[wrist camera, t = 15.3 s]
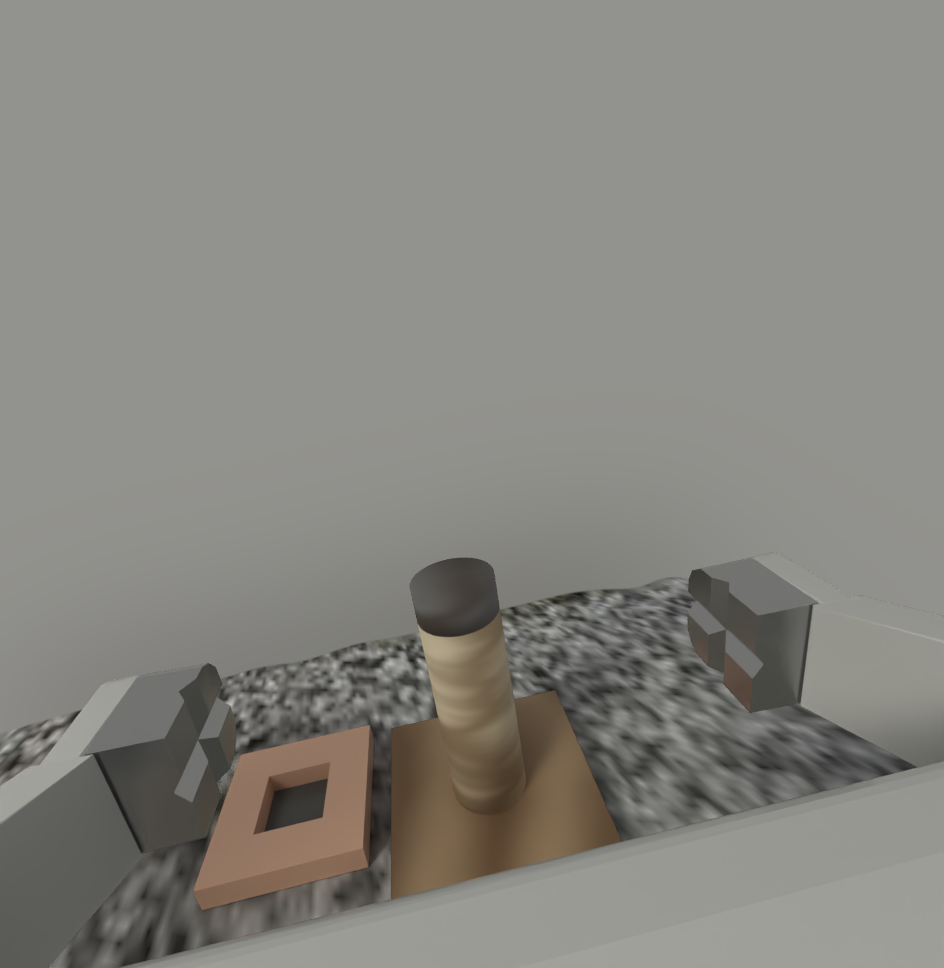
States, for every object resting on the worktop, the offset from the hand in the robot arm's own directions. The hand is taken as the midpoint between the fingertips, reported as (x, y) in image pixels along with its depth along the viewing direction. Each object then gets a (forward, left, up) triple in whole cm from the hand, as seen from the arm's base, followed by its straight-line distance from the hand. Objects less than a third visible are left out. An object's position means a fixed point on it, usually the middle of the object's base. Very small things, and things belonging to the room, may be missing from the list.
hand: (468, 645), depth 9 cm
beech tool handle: (0, +16, -22) cm, 27 cm away
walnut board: (0, +16, -23) cm, 28 cm away
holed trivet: (-12, +18, -23) cm, 31 cm away
